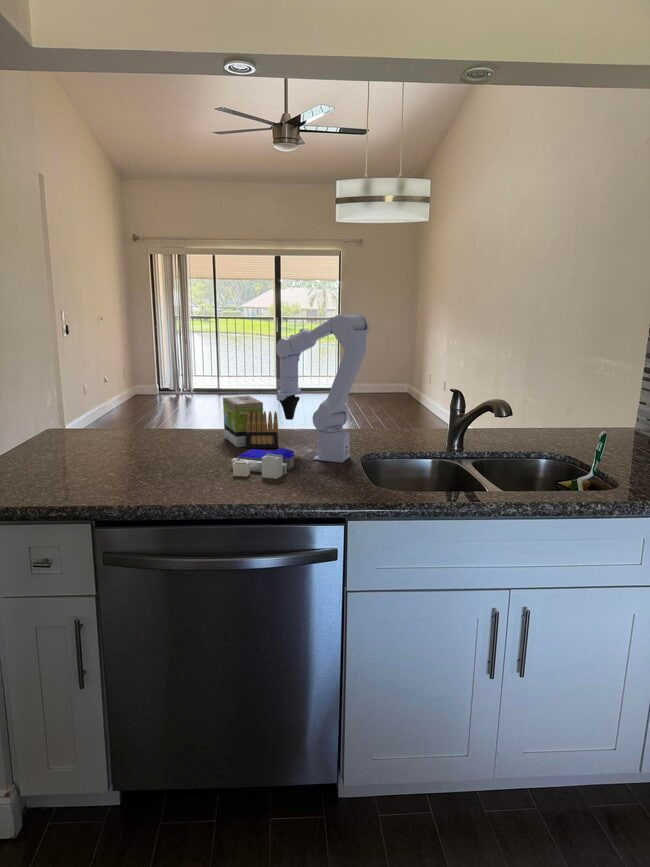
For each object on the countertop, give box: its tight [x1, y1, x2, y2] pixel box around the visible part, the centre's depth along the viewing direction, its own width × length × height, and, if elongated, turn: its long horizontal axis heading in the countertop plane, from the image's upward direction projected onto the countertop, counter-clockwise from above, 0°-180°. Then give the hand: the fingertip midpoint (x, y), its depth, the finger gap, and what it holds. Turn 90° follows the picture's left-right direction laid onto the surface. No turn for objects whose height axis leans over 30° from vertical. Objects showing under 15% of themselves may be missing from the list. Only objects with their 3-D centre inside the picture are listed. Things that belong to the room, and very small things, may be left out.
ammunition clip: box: [244, 410, 280, 449], centre depth 191 cm, size 11×2×12 cm, turn 92°
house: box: [236, 447, 295, 470], centre depth 170 cm, size 11×15×5 cm
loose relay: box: [232, 461, 251, 477], centre depth 160 cm, size 4×3×4 cm
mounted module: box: [261, 454, 284, 480], centre depth 159 cm, size 4×4×6 cm
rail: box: [230, 457, 288, 476], centre depth 164 cm, size 16×2×3 cm, turn 70°
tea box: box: [222, 395, 264, 448], centre depth 198 cm, size 15×10×15 cm, turn 25°
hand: (289, 419), depth 187 cm, fingers closed
